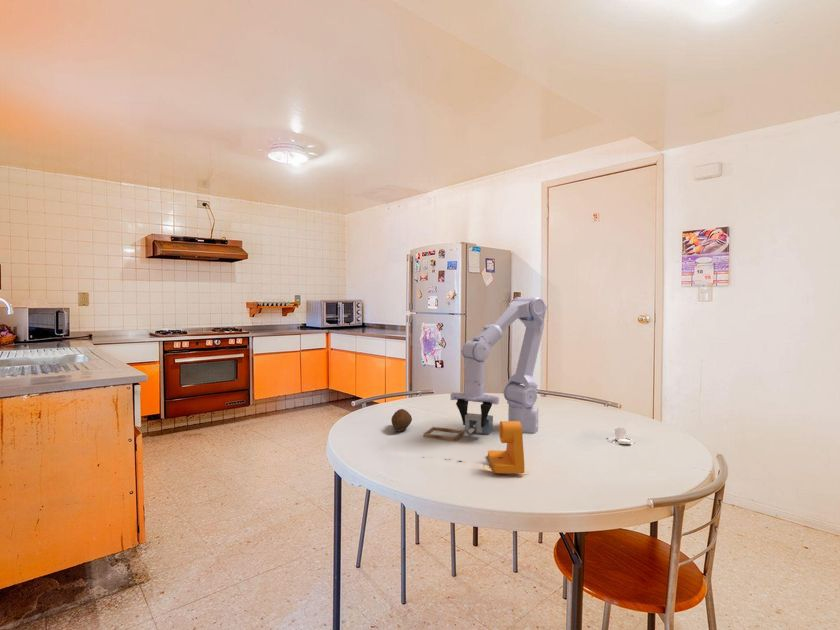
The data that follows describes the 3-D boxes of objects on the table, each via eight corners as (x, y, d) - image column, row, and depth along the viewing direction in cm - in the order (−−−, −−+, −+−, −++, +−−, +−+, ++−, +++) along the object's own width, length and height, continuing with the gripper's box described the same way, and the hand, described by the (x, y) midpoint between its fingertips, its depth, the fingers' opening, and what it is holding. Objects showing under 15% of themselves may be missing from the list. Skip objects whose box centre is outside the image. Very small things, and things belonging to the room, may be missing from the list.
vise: (493, 433, 140) (493, 415, 140) (481, 447, 126) (481, 427, 126) (472, 430, 143) (472, 412, 143) (458, 444, 129) (458, 424, 129)
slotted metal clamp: (483, 430, 132) (483, 414, 132) (480, 433, 130) (481, 416, 130) (467, 428, 134) (467, 413, 134) (464, 431, 132) (465, 414, 132)
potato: (411, 424, 149) (411, 404, 149) (412, 435, 138) (412, 413, 138) (391, 424, 149) (391, 404, 149) (391, 435, 138) (391, 413, 137)
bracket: (487, 460, 117) (487, 415, 116) (514, 460, 117) (514, 416, 116) (494, 476, 106) (495, 427, 105) (524, 476, 106) (525, 427, 106)
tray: (464, 437, 136) (464, 430, 136) (455, 445, 128) (455, 438, 128) (433, 433, 140) (433, 426, 140) (423, 440, 132) (423, 433, 132)
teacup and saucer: (632, 448, 128) (632, 434, 128) (603, 443, 133) (603, 430, 133) (636, 440, 136) (636, 427, 136) (608, 436, 140) (609, 423, 140)
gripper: (447, 380, 131) (446, 426, 131) (495, 385, 125) (494, 432, 125) (454, 377, 137) (454, 420, 137) (500, 380, 131) (500, 425, 132)
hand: (473, 425), depth 132 cm, fingers closed on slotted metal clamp, 5 cm apart
